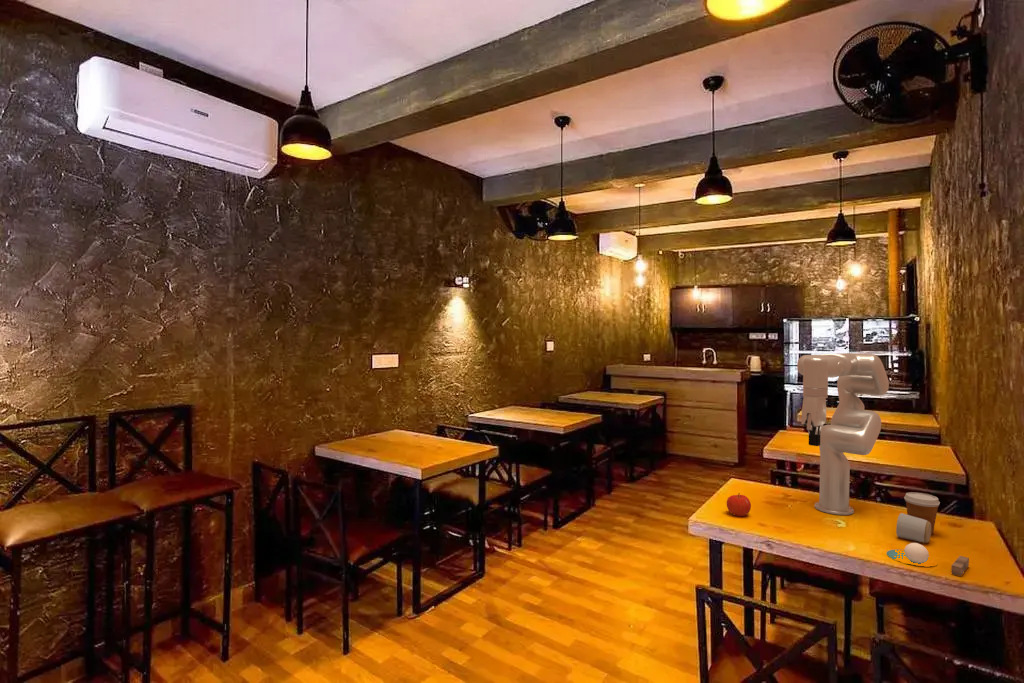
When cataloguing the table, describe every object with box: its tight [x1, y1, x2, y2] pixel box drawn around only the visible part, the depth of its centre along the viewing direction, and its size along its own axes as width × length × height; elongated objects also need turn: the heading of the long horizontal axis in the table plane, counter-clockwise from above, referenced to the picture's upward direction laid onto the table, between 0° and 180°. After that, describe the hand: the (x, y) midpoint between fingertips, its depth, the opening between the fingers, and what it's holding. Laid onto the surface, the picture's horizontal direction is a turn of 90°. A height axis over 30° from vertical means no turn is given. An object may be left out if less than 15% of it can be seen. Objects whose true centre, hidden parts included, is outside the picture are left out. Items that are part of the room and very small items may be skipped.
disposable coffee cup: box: [903, 492, 941, 536], centre depth 180 cm, size 10×10×12 cm
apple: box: [726, 492, 752, 517], centre depth 196 cm, size 8×8×8 cm
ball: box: [903, 542, 930, 564], centre depth 156 cm, size 6×6×6 cm
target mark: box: [886, 549, 906, 560], centre depth 159 cm, size 12×12×1 cm
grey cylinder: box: [895, 512, 932, 544], centre depth 174 cm, size 11×8×8 cm
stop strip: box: [950, 555, 970, 577], centre depth 151 cm, size 10×2×2 cm, turn 130°
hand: (814, 445), depth 188 cm, fingers closed
